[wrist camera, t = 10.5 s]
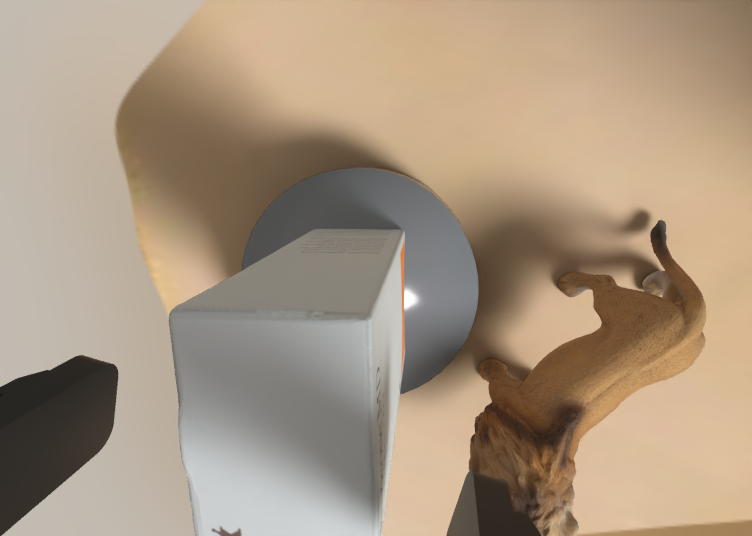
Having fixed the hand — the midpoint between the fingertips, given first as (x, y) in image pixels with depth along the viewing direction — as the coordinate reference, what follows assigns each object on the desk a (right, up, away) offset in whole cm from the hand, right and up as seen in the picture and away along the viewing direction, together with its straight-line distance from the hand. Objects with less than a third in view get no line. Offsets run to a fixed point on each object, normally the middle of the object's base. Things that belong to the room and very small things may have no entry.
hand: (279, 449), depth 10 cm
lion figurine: (+12, 0, +14) cm, 18 cm away
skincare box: (+1, +3, +11) cm, 12 cm away
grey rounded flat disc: (+2, +4, +14) cm, 14 cm away
